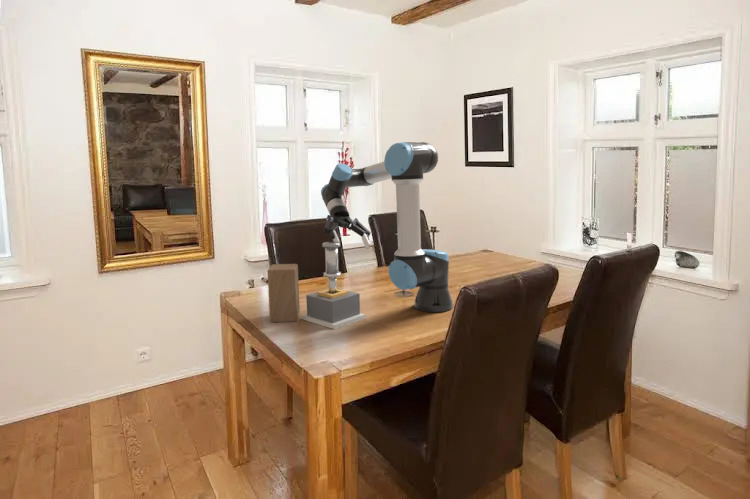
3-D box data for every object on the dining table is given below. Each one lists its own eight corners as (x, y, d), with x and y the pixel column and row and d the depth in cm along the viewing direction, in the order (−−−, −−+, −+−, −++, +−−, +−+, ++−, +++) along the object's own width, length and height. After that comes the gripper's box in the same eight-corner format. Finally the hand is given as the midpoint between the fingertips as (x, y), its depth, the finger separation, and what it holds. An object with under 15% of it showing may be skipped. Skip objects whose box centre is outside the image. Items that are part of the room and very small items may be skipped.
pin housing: (365, 318, 199) (365, 291, 197) (334, 329, 187) (333, 300, 185) (332, 309, 211) (331, 283, 209) (301, 319, 199) (300, 292, 197)
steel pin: (345, 296, 198) (343, 242, 194) (332, 300, 193) (330, 245, 189) (333, 293, 202) (331, 241, 198) (320, 297, 197) (318, 243, 194)
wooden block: (300, 313, 206) (297, 263, 202) (297, 321, 196) (294, 269, 193) (274, 314, 206) (271, 264, 202) (270, 322, 196) (267, 269, 192)
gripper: (361, 221, 229) (377, 254, 215) (307, 215, 217) (320, 249, 202) (367, 208, 225) (384, 240, 211) (313, 200, 213) (327, 235, 198)
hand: (353, 245), depth 206 cm, fingers open, 13 cm apart
